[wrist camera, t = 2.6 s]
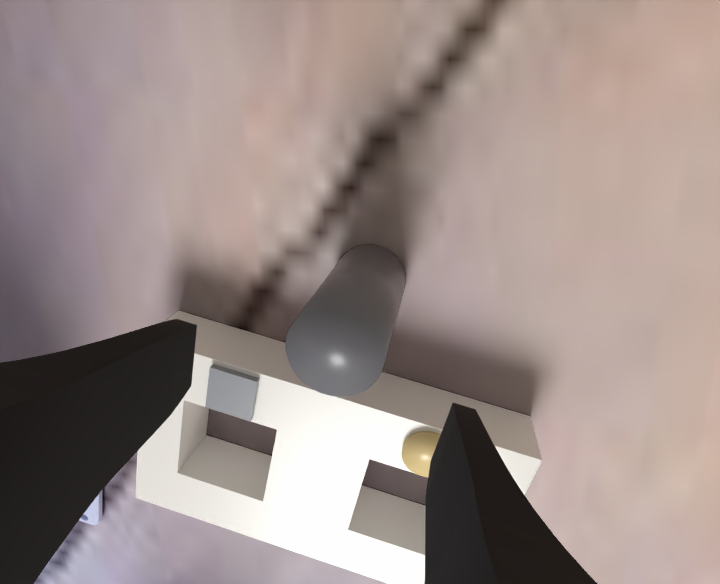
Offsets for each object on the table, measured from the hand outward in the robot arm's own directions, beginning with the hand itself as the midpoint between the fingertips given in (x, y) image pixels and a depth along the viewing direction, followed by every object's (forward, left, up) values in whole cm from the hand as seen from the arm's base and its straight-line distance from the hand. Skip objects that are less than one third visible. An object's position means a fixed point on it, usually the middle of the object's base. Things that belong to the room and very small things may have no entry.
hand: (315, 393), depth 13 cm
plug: (0, 0, -9) cm, 9 cm away
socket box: (0, -10, -9) cm, 13 cm away
